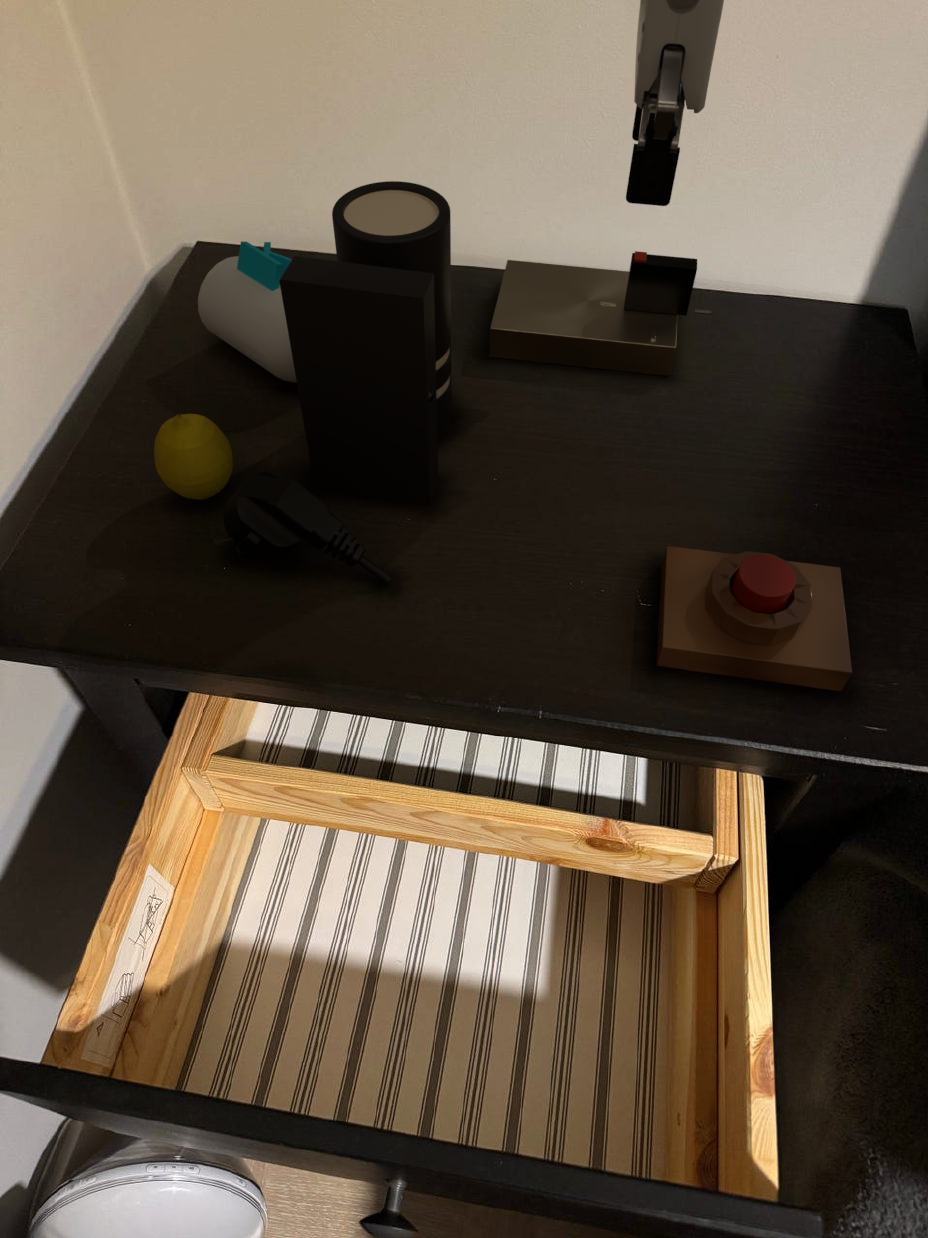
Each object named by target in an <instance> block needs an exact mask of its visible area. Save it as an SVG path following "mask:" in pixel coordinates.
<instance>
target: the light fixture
mask: <svg viewBox="0 0 928 1238" xmlns="http://www.w3.org/2000/svg"><path fill="white" fill-rule="evenodd" d="M331 217H332V218H331V219H332V226H333V235H334V244H335V253H336V254H335V255H336V260H332V259H331V260H330V259H322V258H314V257H307V256H299V255H293V257H292V258H291V259H292V260H291V262H290V264H289V265H288V267H287V269H286V270H285V272H284V274H283V275H282V277H281V279H280V280H279V282H280V288H281V294H282V299H283V305H284V311H285V317H286V323H287V329H288V334H289V340H290V346H291V352H292V358H293V364H294V369H295V375H296V381H297V382H296V386H297V392H298V398H299V404H300V409H301V413H302V414H301V415H302V423H303V426H304V433H305V438H306V444H307V450H308V451H307V452H308V456H309V462H310V468H311V474H312V479H313V485H314V488H316V489H322V490H327V491H334V492H341V493H348V494H353V495H360V496H365V497H366V496H367V497H373V498H379V499H385V500H392V501H397V502H403V503H410V504H417V505H424V506H429V507H430V506H431V503H432V500H433V498H434V494H435V491H436V488H437V485H438V482H439V449H438V438H439V437H441V436H442V435H443V434H444V433H445V432H446V431H447V430H448V428H449V427H450V424H451V422H452V416H453V414H452V413H453V411H452V409H453V408H452V406H453V405H452V402H453V401H452V397H453V396H452V393H453V392H452V247H451V243H452V237H451V236H452V235H451V231H452V230H451V229H452V228H451V226H452V225H451V224H452V223H451V221H452V220H451V207H450V203H449V202H448V201H447V199H446V198H445V196H443V195H442V194H440V193H439V192H438V191H436V190H435V189H432V188H430V187H428V186H426V185H422V184H419V183H415V182H409V181H400V180H399V181H398V180H397V181H396V180H394V181H393V180H392V181H391V180H390V181H389V180H388V181H387V180H386V181H377V182H372V183H367V184H364V185H360V186H358V187H356V188H353V189H351V190H349V191H347V192H346V193H344V194H342V196H340V197H339V198H338V199H337V201H336V202H335V203H334V205H333V208H332V210H331Z"/></svg>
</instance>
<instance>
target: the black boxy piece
mask: <svg viewBox="0 0 928 1238" xmlns="http://www.w3.org/2000/svg"><path fill="white" fill-rule="evenodd" d="M697 272H698V258H694V257H693V258H691V257H683V256H681V257H680V256H670V255H660V254H649V253H648V252H647V251H637V250H636V251H634V252H632V253H631V259H630V265H629V277H628V283H627V289H626V295H625V302H624V309H626V310H636V311H645V312H655V313H665V314H675V315H678V316H687V315H688V312H689V311H688V310H689V307H690V302H691V298H692V294H693V290H694V285H695V280H696V277H697Z"/></svg>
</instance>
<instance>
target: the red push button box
mask: <svg viewBox="0 0 928 1238" xmlns="http://www.w3.org/2000/svg"><path fill="white" fill-rule="evenodd" d="M754 555H770V556H774V557H776V558H779V559H781V560H782V561H784V562H785V563H787V564H788V565H789V566H790V567H791V569H792V570H793V572H794V574H795V578H796V583H795V586H794V588H793V591H792V593H791V595H790V597H789V599H788V601H787V603H786V605H785V606H784V607H783V608H782V609H781V610H779V611H777V612H774V613H767V614H764V613H757V612H754V611H751V610H749V609H747V608H745V607H744V606H742V605H741V604H740V603H739V602H738V601H737V599H736V598H735V596H734V593H733V583H734V580H735V578H736V575H737V572H738V570H739V567H740V565H741V563H742V562H743V561H744V560H745V559H747V558H748V557H751V556H754ZM850 649H851V648H850V640H849V633H848V624H847V614H846V605H845V597H844V589H843V577H842V572H841V567H839V566H831V565H824V564H817V563H816V564H815V563H807V562H800V561H792V560H786V559H783V558H782V557H780V556H778V555H775V554H773V553H768V552H760V551H753V550H752V551H751V550H747V551H742V552H740V553H729V552H728V553H727V552H719V551H714V550H713V551H712V550H705V549H704V550H703V549H696V548H689V547H688V548H687V547H680V546H673V545H666V547H665V550H664V554H663V558H662V562H661V565H660V583H659V605H658V627H657V647H656V667H662V668H663V667H664V668H669V669H677V670H683V671H684V670H685V671H691V672H699V673H705V674H713V675H720V676H728V677H734V678H741V679H749V680H756V681H762V682H764V681H765V682H771V683H777V684H786V685H790V686H791V685H792V686H799V687H807V688H814V689H819V690H828V691H835V692H842V690H843V689H844V687H845V685H847V682H848V680H849V679H850V677H851V676H852V674H853V666H852V658H851V650H850Z"/></svg>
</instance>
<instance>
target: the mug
mask: <svg viewBox="0 0 928 1238" xmlns="http://www.w3.org/2000/svg"><path fill="white" fill-rule="evenodd" d="M271 244H272V242H271V241H264V242H263V248H262V250H261V249H260V248H259V247H256V246H255V245H253V244H252V243H250V242H248V241H243V240H242V241H240V246H239V251H238V255H236V256H230V257H226V258H224V259H223V260H220V261H219V262H217V263H216V264H215V265H214V266H213V267H212V268H211V269H210V270H209V271H208V272H207V274H206V276H205V277H204V279H203V281H202V282H201V285H200V288H199V292H198V296H197V311H198V315H199V317H200V320H201V323H202V324H203V325H204V326H205V328H206V329H207V330H208V331H209V332H211V333H212V334H213V335H215V336H216V337H218V338H219V339H221V340H222V341H224V342H226V344H228V345H229V346H231V347H232V348H233V349H235V350H237V351H238V352H240V353H241V354H243V355H244V356H246V357H247V358H248V359H250V360H251V361H253V362H254V363H256V364H257V365H259V366H260V367H261V368H263V369H264V370H266V371H268V372H269V373H270V374H272V375H273V376H275V377H276V378H278V379H280V380H282V381H286V382H290V383H297V381H296V375H295V369H294V364H293V358H292V352H291V346H290V340H289V334H288V329H287V323H286V317H285V311H284V305H283V299H282V294H281V288H280V282H279V280H280V279H281V277H282V275H283V274H284V272H285V270H286V269H287V267H288V265H289V264H290V262H291V260H292V259H293V258H290V257H287V256H284V255H281V254H279V253H276V252H273V251H272V250H271V249H272V245H271Z"/></svg>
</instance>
